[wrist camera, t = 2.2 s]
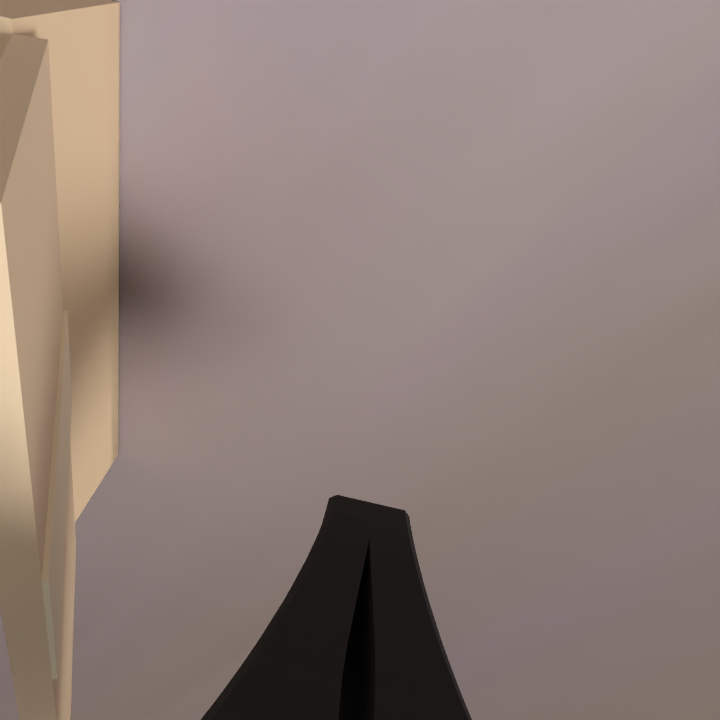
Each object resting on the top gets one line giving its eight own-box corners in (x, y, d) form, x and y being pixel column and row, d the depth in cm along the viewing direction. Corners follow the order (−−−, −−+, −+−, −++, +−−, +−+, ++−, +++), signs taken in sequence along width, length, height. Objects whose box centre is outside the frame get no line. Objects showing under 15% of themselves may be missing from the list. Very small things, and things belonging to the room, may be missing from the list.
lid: (55, 548, 17) (79, 545, 17) (37, 826, 12) (71, 817, 12) (12, 33, 10) (53, 40, 10) (-71, 198, 5) (12, 204, 5)
